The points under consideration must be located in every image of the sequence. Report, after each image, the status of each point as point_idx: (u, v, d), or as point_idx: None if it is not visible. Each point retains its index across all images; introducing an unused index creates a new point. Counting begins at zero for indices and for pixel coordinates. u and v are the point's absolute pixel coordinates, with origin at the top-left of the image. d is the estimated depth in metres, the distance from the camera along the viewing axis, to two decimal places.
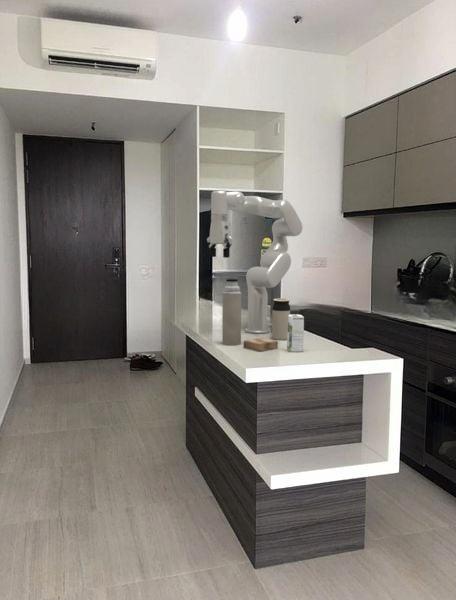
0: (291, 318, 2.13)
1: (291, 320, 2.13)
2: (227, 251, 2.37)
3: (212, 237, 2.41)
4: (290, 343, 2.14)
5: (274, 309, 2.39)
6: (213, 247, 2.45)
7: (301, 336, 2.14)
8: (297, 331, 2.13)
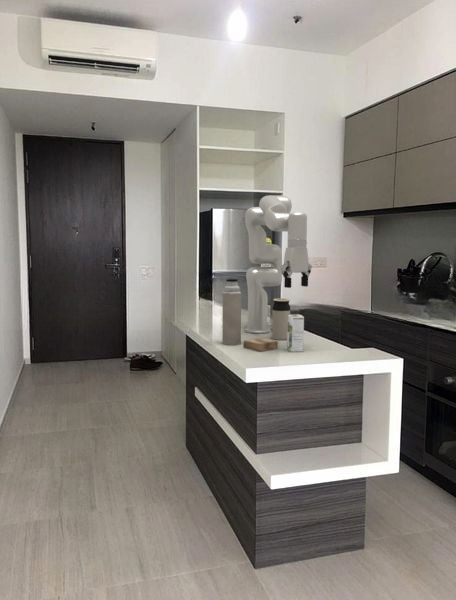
0: (291, 318, 2.13)
1: (291, 320, 2.13)
2: None
3: (297, 265, 2.10)
4: (290, 343, 2.14)
5: (274, 309, 2.39)
6: None
7: (301, 336, 2.14)
8: (297, 331, 2.13)
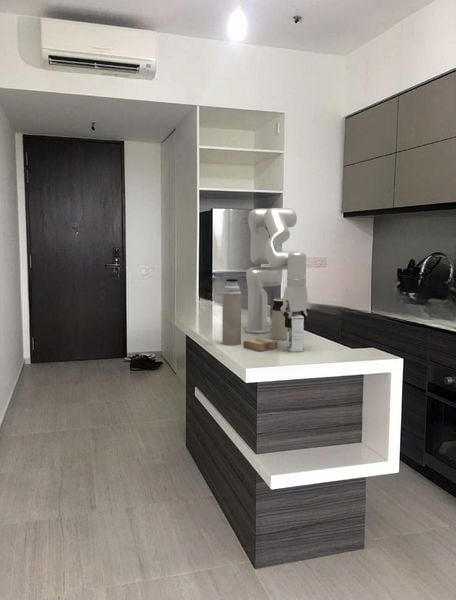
0: None
1: None
2: None
3: (296, 304, 2.12)
4: (290, 343, 2.14)
5: (274, 309, 2.39)
6: None
7: (301, 336, 2.14)
8: (297, 330, 2.13)
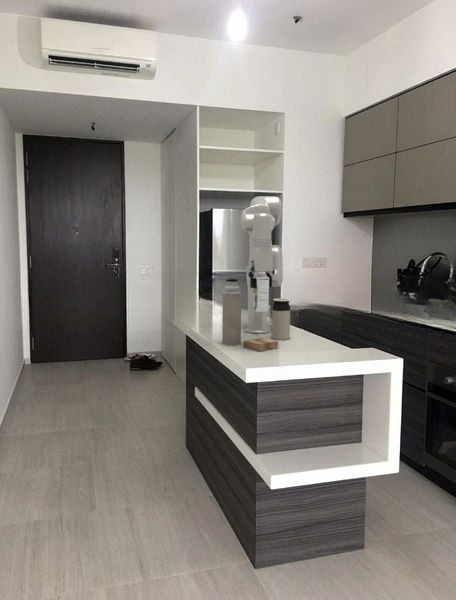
0: None
1: None
2: None
3: (261, 265, 2.14)
4: (255, 303, 2.16)
5: (274, 309, 2.39)
6: None
7: (266, 296, 2.16)
8: (262, 291, 2.16)
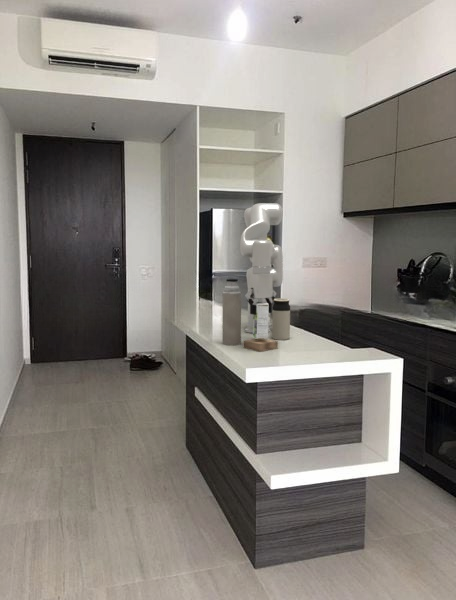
0: (256, 305, 2.16)
1: None
2: None
3: (260, 291, 2.15)
4: (255, 330, 2.17)
5: (274, 309, 2.39)
6: None
7: (266, 323, 2.17)
8: (262, 317, 2.17)
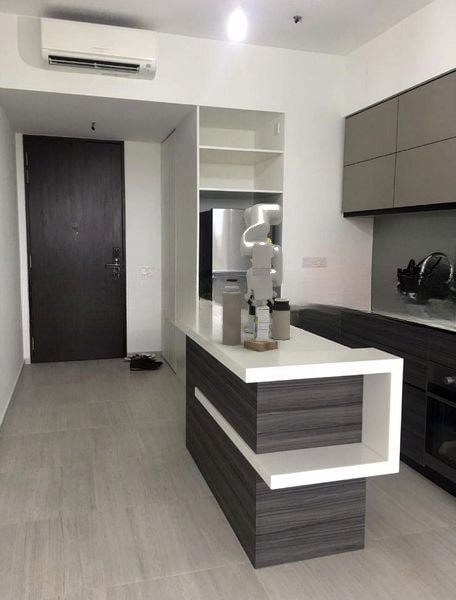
0: (256, 308, 2.17)
1: (256, 310, 2.17)
2: None
3: (260, 293, 2.15)
4: (256, 333, 2.18)
5: (274, 309, 2.39)
6: None
7: (266, 326, 2.18)
8: (262, 321, 2.18)
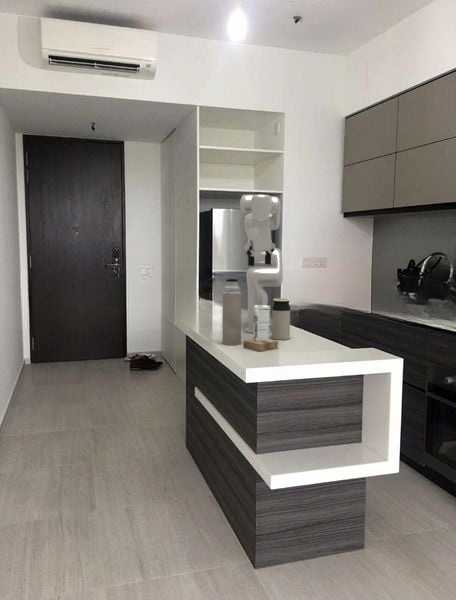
0: (256, 308, 2.17)
1: (256, 310, 2.17)
2: None
3: (259, 244, 2.23)
4: (256, 333, 2.18)
5: (274, 309, 2.39)
6: None
7: (266, 326, 2.18)
8: (262, 321, 2.18)
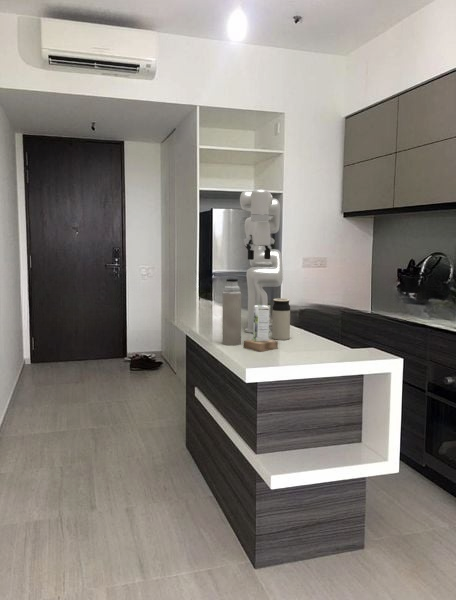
0: (256, 308, 2.17)
1: (256, 310, 2.17)
2: None
3: (259, 238, 2.26)
4: (256, 333, 2.18)
5: (274, 309, 2.39)
6: None
7: (266, 326, 2.18)
8: (262, 321, 2.18)
